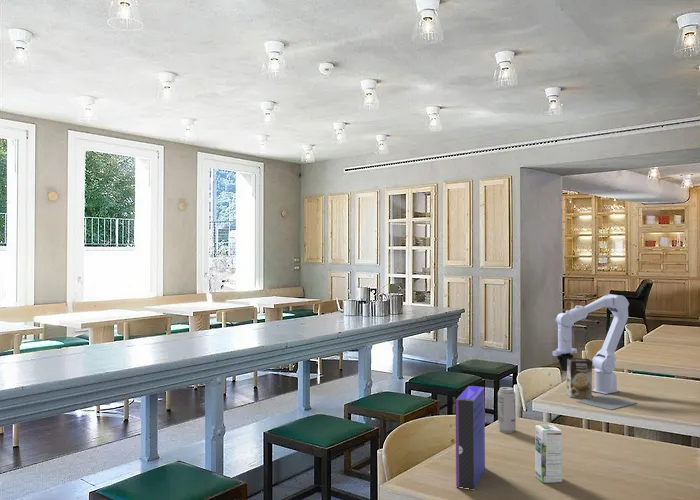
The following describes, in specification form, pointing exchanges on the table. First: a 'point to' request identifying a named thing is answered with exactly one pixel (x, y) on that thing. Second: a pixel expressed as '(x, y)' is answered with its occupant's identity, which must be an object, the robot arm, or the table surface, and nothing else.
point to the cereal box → (470, 436)
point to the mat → (607, 402)
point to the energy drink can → (506, 410)
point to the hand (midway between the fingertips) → (564, 370)
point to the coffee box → (579, 378)
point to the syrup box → (548, 453)
